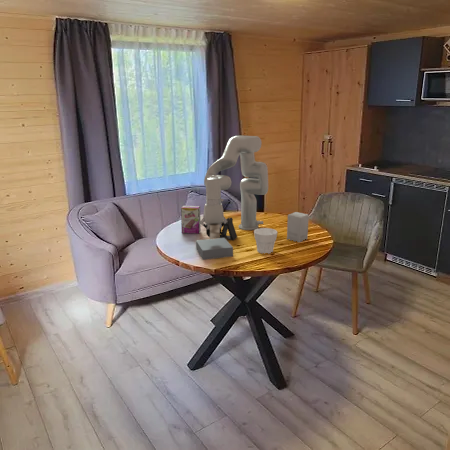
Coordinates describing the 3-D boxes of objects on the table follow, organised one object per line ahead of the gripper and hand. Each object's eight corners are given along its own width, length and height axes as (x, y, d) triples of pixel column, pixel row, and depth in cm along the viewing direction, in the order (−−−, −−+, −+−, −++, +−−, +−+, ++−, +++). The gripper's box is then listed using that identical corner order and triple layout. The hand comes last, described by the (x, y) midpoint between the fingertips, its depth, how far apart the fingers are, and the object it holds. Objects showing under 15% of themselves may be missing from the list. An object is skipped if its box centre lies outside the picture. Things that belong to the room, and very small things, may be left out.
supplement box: (308, 239, 238) (309, 214, 234) (299, 242, 232) (300, 217, 227) (294, 235, 244) (296, 211, 240) (286, 239, 238) (287, 214, 233)
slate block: (224, 246, 226) (224, 237, 225) (232, 256, 212) (232, 247, 210) (196, 249, 222) (196, 240, 221) (202, 259, 208) (202, 250, 206)
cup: (270, 256, 211) (271, 236, 208) (249, 252, 218) (249, 232, 214) (280, 249, 221) (281, 230, 218) (260, 245, 228) (260, 226, 224)
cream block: (217, 235, 217) (217, 222, 215) (219, 238, 213) (219, 225, 211) (208, 235, 216) (207, 223, 214) (210, 238, 211) (210, 225, 209)
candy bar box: (181, 233, 248) (180, 207, 243) (183, 231, 253) (182, 205, 248) (199, 234, 247) (199, 207, 242) (200, 231, 252) (200, 205, 247)
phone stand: (237, 237, 241) (237, 218, 237) (233, 240, 236) (233, 220, 232) (223, 235, 244) (223, 216, 241) (219, 238, 239) (219, 218, 236)
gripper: (227, 199, 215) (227, 232, 220) (195, 201, 210) (196, 234, 215) (231, 202, 208) (231, 236, 213) (198, 204, 203) (199, 239, 208)
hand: (213, 235), depth 214 cm, fingers closed on cream block, 5 cm apart
